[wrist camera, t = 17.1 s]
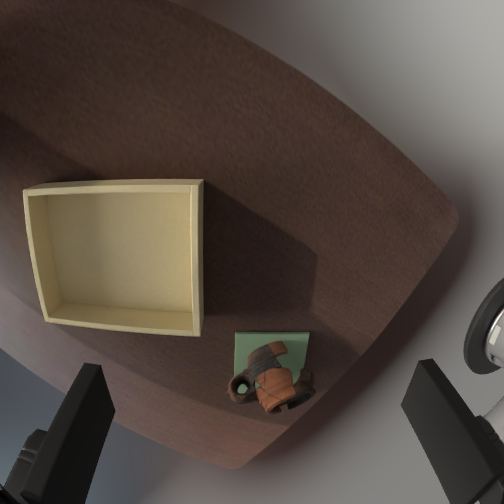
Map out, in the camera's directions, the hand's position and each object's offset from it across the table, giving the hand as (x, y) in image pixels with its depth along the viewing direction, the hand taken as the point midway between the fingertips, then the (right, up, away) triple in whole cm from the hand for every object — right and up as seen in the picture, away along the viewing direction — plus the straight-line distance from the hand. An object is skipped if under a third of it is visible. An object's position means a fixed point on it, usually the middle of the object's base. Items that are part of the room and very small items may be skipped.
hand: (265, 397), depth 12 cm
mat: (+2, -11, +33) cm, 35 cm away
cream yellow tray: (-17, +6, +26) cm, 32 cm away
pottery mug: (+2, -11, +33) cm, 34 cm away
